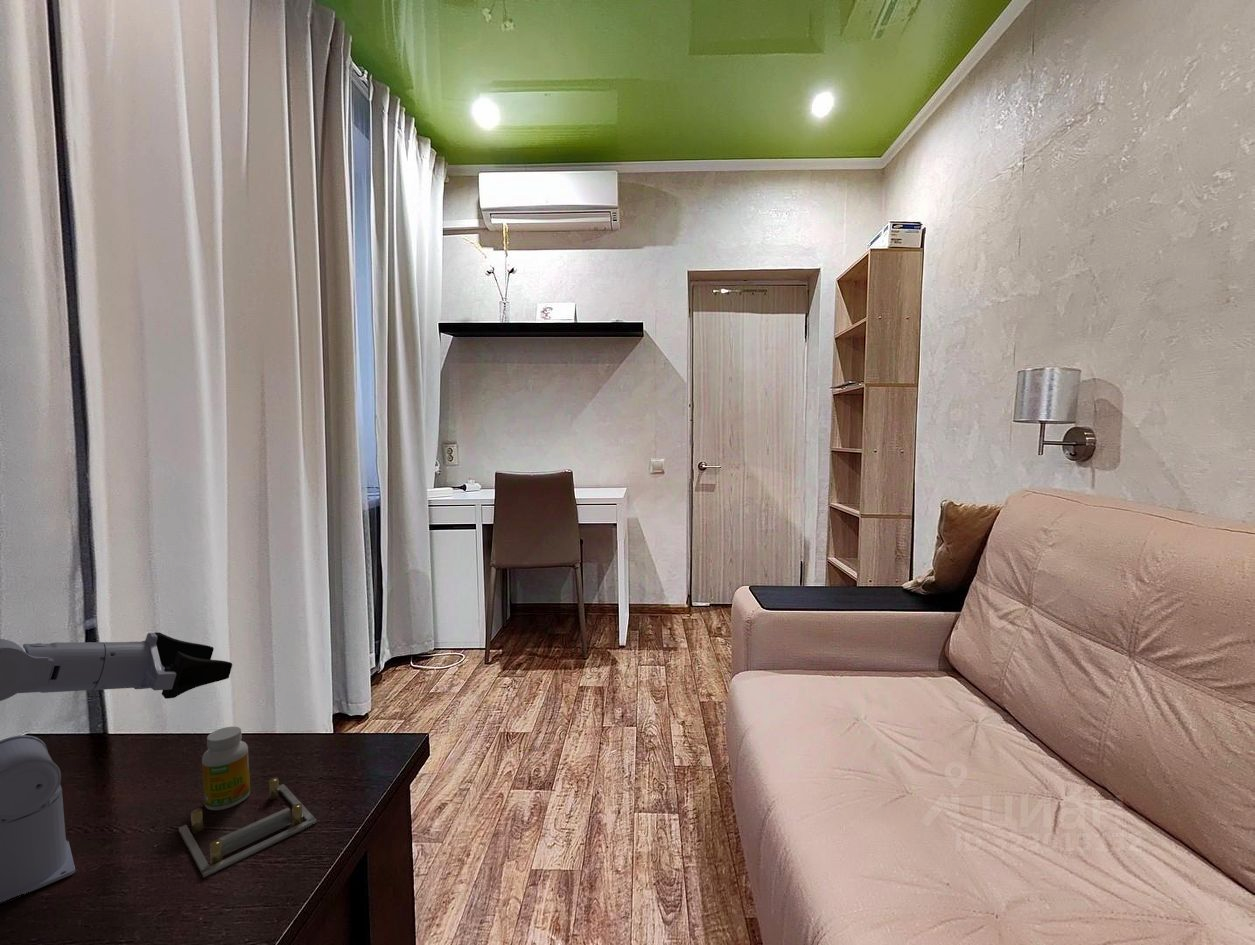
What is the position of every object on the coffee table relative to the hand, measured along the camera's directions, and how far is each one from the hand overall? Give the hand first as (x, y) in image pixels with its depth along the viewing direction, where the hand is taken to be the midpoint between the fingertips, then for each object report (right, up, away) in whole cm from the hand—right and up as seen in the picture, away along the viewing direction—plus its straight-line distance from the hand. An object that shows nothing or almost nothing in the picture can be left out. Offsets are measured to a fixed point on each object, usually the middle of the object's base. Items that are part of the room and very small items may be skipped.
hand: (220, 662), depth 83 cm
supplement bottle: (+2, -19, -1) cm, 20 cm away
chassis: (+8, -20, -7) cm, 22 cm away
